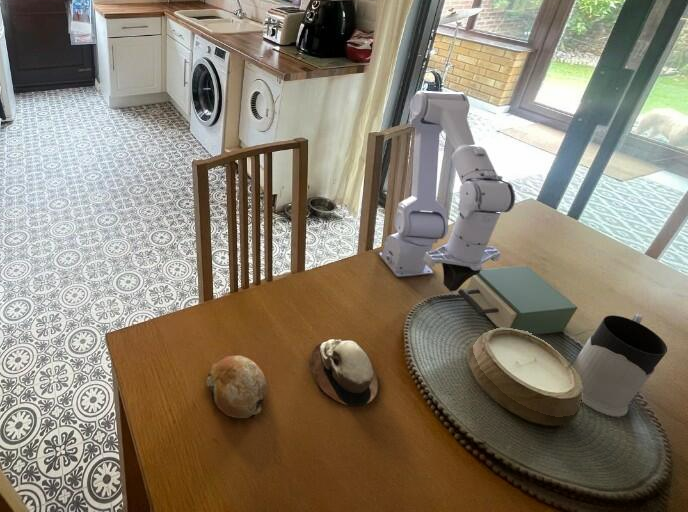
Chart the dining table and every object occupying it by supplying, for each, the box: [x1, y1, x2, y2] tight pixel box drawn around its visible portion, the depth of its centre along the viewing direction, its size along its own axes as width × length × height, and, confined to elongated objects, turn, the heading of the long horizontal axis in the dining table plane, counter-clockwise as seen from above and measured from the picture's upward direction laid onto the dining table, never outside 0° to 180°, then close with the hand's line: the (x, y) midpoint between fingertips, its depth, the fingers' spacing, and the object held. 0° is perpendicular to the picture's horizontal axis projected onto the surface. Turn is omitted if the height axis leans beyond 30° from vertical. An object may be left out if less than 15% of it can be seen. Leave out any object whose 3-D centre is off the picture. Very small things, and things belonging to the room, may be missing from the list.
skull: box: [309, 338, 379, 407], centre depth 76 cm, size 12×10×10 cm
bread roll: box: [206, 354, 268, 419], centre depth 73 cm, size 10×10×8 cm
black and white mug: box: [571, 313, 668, 417], centre depth 72 cm, size 9×14×15 cm, turn 126°
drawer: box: [457, 275, 517, 328], centre depth 88 cm, size 16×10×5 cm, turn 97°
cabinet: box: [475, 265, 579, 336], centre depth 88 cm, size 13×12×7 cm
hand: (449, 287), depth 84 cm, fingers closed
